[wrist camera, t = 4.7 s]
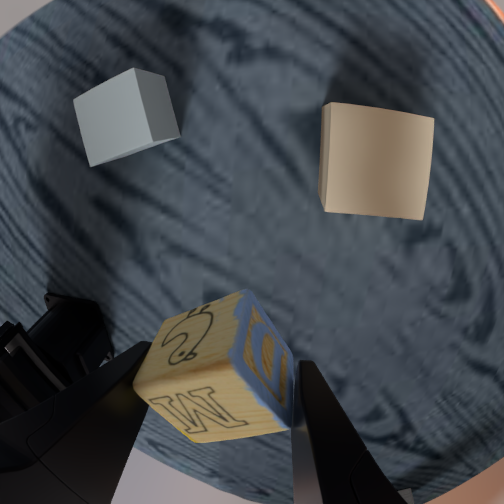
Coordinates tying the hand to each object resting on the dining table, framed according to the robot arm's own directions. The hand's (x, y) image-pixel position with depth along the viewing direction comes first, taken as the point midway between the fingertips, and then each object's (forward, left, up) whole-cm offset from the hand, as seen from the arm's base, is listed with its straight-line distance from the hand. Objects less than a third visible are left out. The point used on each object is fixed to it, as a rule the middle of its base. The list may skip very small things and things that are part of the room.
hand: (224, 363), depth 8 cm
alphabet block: (0, 0, -1) cm, 1 cm away
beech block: (+6, +5, -11) cm, 14 cm away
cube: (-7, +7, -11) cm, 15 cm away
